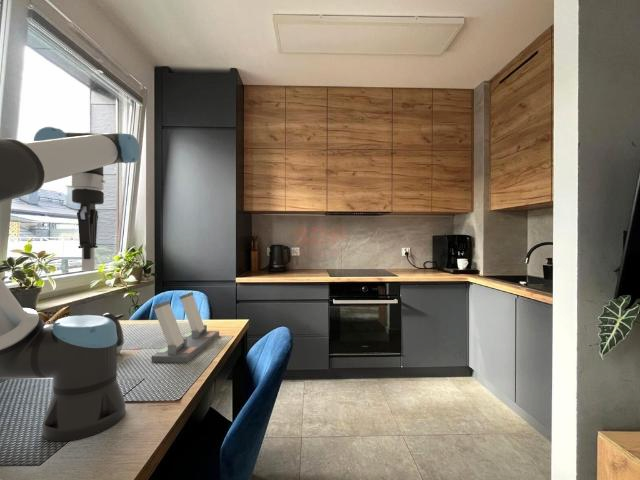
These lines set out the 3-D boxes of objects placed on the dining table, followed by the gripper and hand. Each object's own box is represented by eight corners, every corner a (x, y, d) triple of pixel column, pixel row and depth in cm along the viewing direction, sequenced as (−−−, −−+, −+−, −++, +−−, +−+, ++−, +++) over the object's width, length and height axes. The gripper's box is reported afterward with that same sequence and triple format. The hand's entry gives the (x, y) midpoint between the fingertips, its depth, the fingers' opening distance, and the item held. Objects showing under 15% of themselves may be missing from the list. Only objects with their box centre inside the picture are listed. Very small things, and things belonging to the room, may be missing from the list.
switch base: (219, 335, 137) (219, 324, 137) (186, 362, 107) (186, 347, 107) (191, 335, 137) (191, 323, 137) (151, 362, 107) (151, 347, 107)
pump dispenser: (121, 358, 111) (121, 314, 111) (85, 362, 107) (85, 317, 107) (127, 348, 120) (127, 308, 120) (94, 352, 116) (94, 311, 116)
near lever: (186, 345, 116) (169, 300, 116) (177, 350, 110) (159, 303, 110) (179, 347, 116) (162, 303, 116) (170, 353, 110) (152, 306, 110)
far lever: (206, 330, 134) (192, 291, 134) (200, 335, 128) (185, 294, 128) (200, 333, 134) (186, 294, 134) (193, 337, 128) (179, 296, 128)
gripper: (98, 187, 89) (98, 271, 89) (107, 193, 100) (107, 268, 101) (65, 185, 86) (65, 273, 86) (78, 192, 97) (79, 268, 97)
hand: (88, 270), depth 93 cm, fingers closed
